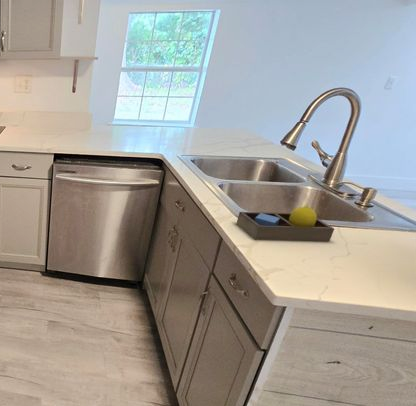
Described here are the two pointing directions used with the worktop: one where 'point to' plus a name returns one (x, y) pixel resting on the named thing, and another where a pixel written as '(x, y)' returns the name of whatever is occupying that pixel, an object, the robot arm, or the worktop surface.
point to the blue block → (266, 220)
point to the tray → (283, 228)
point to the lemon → (303, 217)
